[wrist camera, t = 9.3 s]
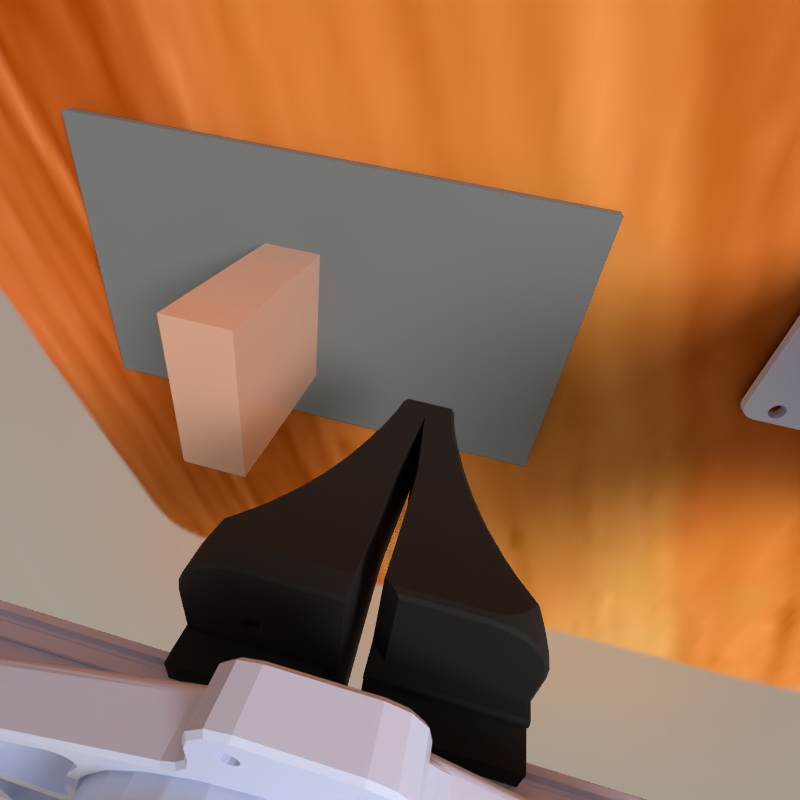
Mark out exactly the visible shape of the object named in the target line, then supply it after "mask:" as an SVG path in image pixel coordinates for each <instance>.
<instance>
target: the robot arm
mask: <svg viewBox="0 0 800 800" xmlns="http://www.w3.org/2000/svg"><path fill="white" fill-rule="evenodd" d="M740 406H741V409H742V411H743V413H744V414H745V415H746V416H747V417H748V418H751V419H753V420H758V421H762V422H766V423H771V424H775V425H780V426H784V427H789V428H793V429H797V430H800V316H799V317H798V318H797V320H796V321H795V323H794V324H793V326H792V327H791V329H790V330H789V332H788V333H787V335H786V336H785V337H784V339H783V340H782V342H781V343H780V345H779V346H778V348H777V349H776V351H775V352H774V354H773V355H772V356H771V358H770V359H769V361H768V362H767V364H766V365H765V367H764V368H763V370H762V371H761V373H760V374H759V375H758V377H757V378H756V380H755V381H754V383H753V384H752V386H751V387H750V389H749V390H748V392H747V393H746V394H745V396H744V397H743V399H742V401H741V403H740ZM774 406H781V407H780V408H779V409H778V410H776V411H773V412H768V411H769V410H770V409H771V408H772V407H774ZM409 491H410V493H409ZM408 493H409V499H408V505H407V510H406V513H405V516H404V520H403V523H402V526H401V529H400V533H399V536H398V539H397V542H396V545H395V548H394V551H393V554H392V558H391V561H390V564H389V567H388V570H387V573H386V576H385V579H384V585H383V590H382V595H381V600H380V606H379V611H378V616H377V621H376V627H375V632H374V637H373V642H372V645H371V649H370V653H369V657H368V661H367V664H366V668H365V671H364V675H363V684H362V689H361V690H359V689H355V688H352V687H349V686H348V682H349V678H350V674H351V671H352V667H353V663H354V660H355V656H356V653H357V649H358V645H359V642H360V638H361V634H362V631H363V627H364V623H365V620H366V616H367V613H368V609H369V605H370V602H371V598H372V595H373V591H374V588H375V584H376V581H377V577H378V574H379V570H380V567H381V564H382V561H383V558H384V555H385V552H386V550H387V547H388V544H389V542H390V539H391V537H392V534H393V532H394V529H395V527H396V524H397V521H398V519H399V516H400V514H401V511H402V509H403V506H404V504H405V501H406V498H407V496H408ZM179 591H180V596H181V599H182V604H183V607H184V611H185V616H186V620H187V626H186V628H185V629H184V631H183V633H182V634H181V636H180V637H179V639H178V641H177V642H176V644H175V646H174V647H173V649H172V651H171V652H170V653H169V652H166V651H163V650H159V649H156V648H153V647H150V646H147V645H144V644H140V643H137V642H134V641H131V640H127V639H124V638H121V637H118V636H115V635H111V634H108V633H105V632H102V631H98V630H95V629H92V628H88V627H85V626H82V625H79V624H76V623H72V622H69V621H66V620H63V619H59V618H56V617H53V616H50V615H47V614H43V613H40V612H37V611H33V610H30V609H27V608H24V607H21V606H17V605H14V604H11V603H8V602H4V601H1V600H0V797H3V798H5V799H7V800H646V799H642V798H639V797H636V796H633V795H629V794H626V793H623V792H619V791H616V790H613V789H610V788H607V787H603V786H600V785H597V784H594V783H591V782H587V781H584V780H581V779H577V778H574V777H571V776H568V775H565V774H561V773H558V772H555V771H552V770H548V769H545V768H542V767H539V766H535V765H532V764H529V763H526V728H528V727H529V726H530V721H531V716H530V715H531V712H530V709H531V708H530V704H531V703H530V702H531V700H532V699H533V697H534V696H535V694H536V693H537V691H538V690H539V688H540V687H541V685H542V684H543V682H544V681H545V679H546V677H547V674H548V671H549V650H548V644H547V638H546V632H545V627H544V622H543V618H542V614H541V610H540V607H539V605H538V603H537V602H536V601H535V599H534V598H533V597H532V596H531V594H530V593H529V592H528V590H527V589H526V588H525V587H524V585H523V584H522V583H521V581H520V580H519V579H518V577H517V576H516V574H515V573H514V571H513V570H512V568H511V567H510V565H509V564H508V562H507V561H506V559H505V558H504V556H503V555H502V553H501V551H500V549H499V548H498V546H497V544H496V543H495V541H494V539H493V537H492V536H491V534H490V532H489V530H488V528H487V527H486V524H485V522H484V520H483V518H482V516H481V514H480V512H479V510H478V508H477V505H476V503H475V501H474V498H473V496H472V493H471V490H470V488H469V485H468V482H467V479H466V476H465V473H464V469H463V466H462V462H461V458H460V454H459V450H458V446H457V441H456V434H455V427H454V412H453V410H452V409H450V408H446V407H442V406H438V405H433V404H429V403H425V402H421V401H417V400H412V399H407V400H405V401H403V403H402V404H401V406H400V407H399V408H398V409H397V411H396V412H395V413H394V414H393V415H392V416H391V418H390V419H389V420H388V421H387V422H386V423H385V424H384V425H383V426H382V427H381V428H380V429H379V430H378V431H377V432H376V433H375V434H374V435H373V436H372V437H371V438H369V439H368V440H367V441H366V442H365V443H364V444H362V445H361V446H360V447H359V448H358V449H356V450H355V451H354V452H353V453H352V454H350V455H349V456H348V457H347V458H345V459H344V460H343V461H341V462H340V463H338V464H337V465H336V466H334V467H333V468H331V469H330V470H328V471H327V472H325V473H324V474H322V475H320V476H319V477H317V478H315V479H314V480H312V481H310V482H309V483H307V484H305V485H303V486H301V487H300V488H298V489H296V490H294V491H292V492H290V493H288V494H285V495H283V496H281V497H279V498H277V499H275V500H273V501H271V502H268V503H266V504H264V505H261V506H259V507H256V508H253V509H250V510H248V511H245V512H242V513H239V514H237V515H234V516H231V517H228V518H225V519H224V520H223V521H222V522H221V523H220V524H219V525H218V526H217V527H216V528H215V530H214V531H213V532H212V533H211V534H210V535H209V536H208V537H207V539H206V540H205V541H204V542H203V543H202V545H201V546H200V548H199V549H198V550H197V552H196V553H195V555H194V556H193V558H192V559H191V561H190V562H189V564H188V565H187V566H186V568H185V569H184V571H183V572H182V574H181V576H180V578H179Z"/></svg>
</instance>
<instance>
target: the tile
mask: <svg viewBox="0 0 800 800" xmlns="http://www.w3.org/2000/svg"><path fill="white" fill-rule="evenodd" d="M319 269H320V254H315V253H310V252H305V251H300V250H296V249H291V248H286V247H281V246H277V245H272V244H267V243H264V244H263V245H261V246H260V247H258V248H257V249H255V250H254V251H252V252H251V253H249V254H247V255H246V256H244V257H243V258H241V259H240V260H238V261H237V262H235V263H233V264H232V265H230V266H229V267H227V268H226V269H224V270H223V271H221V272H220V273H218V274H216V275H215V276H213V277H212V278H210V279H209V280H207V281H206V282H204V283H202V284H201V285H199V286H198V287H196V288H195V289H193V290H192V291H190V292H189V293H187V294H185V295H184V296H182V297H181V298H179V299H178V300H176V301H175V302H173V303H171V304H170V305H168V306H167V307H165V308H164V309H162V310H161V311H159V312H157V318H158V323H159V328H160V334H161V339H162V345H163V350H164V355H165V361H166V366H167V372H168V377H169V383H170V388H171V393H172V399H173V404H174V410H175V415H176V420H177V426H178V431H179V437H180V442H181V447H182V453H183V458H184V461H185V462H189V463H193V464H196V465H200V466H204V467H208V468H212V469H215V470H219V471H223V472H227V473H231V474H234V475H238V476H242V477H246V475H247V474H248V472H249V471H250V470H251V468H252V467H253V465H254V464H255V462H256V461H257V460H258V458H259V457H260V455H261V454H262V452H263V451H264V450H265V448H266V447H267V445H268V444H269V442H270V441H271V440H272V438H273V437H274V435H275V434H276V432H277V431H278V430H279V428H280V427H281V425H282V424H283V422H284V421H285V420H286V418H287V417H288V415H289V414H290V412H291V411H292V410H293V408H294V407H295V405H296V404H297V402H298V401H299V400H300V398H301V397H302V395H303V394H304V392H305V391H306V390H307V388H308V387H309V385H310V384H311V382H312V381H313V380H314V378H315V377H316V361H317V330H318V299H319Z"/></svg>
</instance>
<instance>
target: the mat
mask: <svg viewBox="0 0 800 800" xmlns="http://www.w3.org/2000/svg"><path fill="white" fill-rule="evenodd" d="M61 111H62V115H63V119H64V123H65V127H66V131H67V135H68V139H69V143H70V147H71V151H72V156H73V160H74V164H75V168H76V172H77V176H78V180H79V184H80V188H81V192H82V196H83V200H84V205H85V209H86V213H87V217H88V221H89V225H90V229H91V233H92V237H93V241H94V245H95V249H96V254H97V258H98V262H99V266H100V270H101V274H102V278H103V282H104V286H105V290H106V294H107V298H108V303H109V307H110V311H111V315H112V319H113V323H114V327H115V331H116V335H117V339H118V343H119V347H120V352H121V356H122V360H123V364H124V368H126V369H130V370H134V371H138V372H142V373H146V374H150V375H155V376H159V377H163V378H167V379H169V377H168V372H167V366H166V361H165V355H164V350H163V345H162V339H161V334H160V328H159V323H158V318H157V312H159V311H161V310H162V309H164V308H165V307H167V306H168V305H170V304H171V303H173V302H175V301H176V300H178V299H179V298H181V297H182V296H184V295H185V294H187V293H189V292H190V291H192V290H193V289H195V288H196V287H198V286H199V285H201V284H202V283H204V282H206V281H207V280H209V279H210V278H212V277H213V276H215V275H216V274H218V273H220V272H221V271H223V270H224V269H226V268H227V267H229V266H230V265H232V264H233V263H235V262H237V261H238V260H240V259H241V258H243V257H244V256H246V255H247V254H249V253H251V252H252V251H254V250H255V249H257V248H258V247H260V246H261V245H263V244H264V243H267V244H272V245H277V246H281V247H286V248H291V249H296V250H300V251H305V252H310V253H315V254H320V269H319V299H318V330H317V361H316V377H315V378H314V380H313V381H312V382H311V384H310V385H309V387H308V388H307V390H306V391H305V392H304V394H303V395H302V397H301V398H300V400H299V401H298V402H297V404H296V405H295V407H294V408H293V410H296V411H300V412H304V413H309V414H313V415H317V416H321V417H325V418H329V419H333V420H337V421H341V422H345V423H349V424H353V425H357V426H361V427H365V428H369V429H373V430H377V431H378V430H379V429H380V428H381V427H382V426H383V425H384V424H385V423H386V422H387V421H388V420H389V419H390V418H391V416H392V415H393V414H394V413H395V412H396V411H397V409H398V408H399V407H400V406H401V404H402V403H403V401H405V400H407V399H412V400H417V401H421V402H425V403H429V404H433V405H438V406H442V407H446V408H450V409H452V410H453V412H454V427H455V434H456V441H457V446H458V450H459V451H462V452H467V453H471V454H475V455H479V456H483V457H487V458H491V459H495V460H499V461H503V462H507V463H511V464H515V465H519V466H523V467H525V465H526V462H527V460H528V457H529V455H530V452H531V450H532V447H533V445H534V442H535V440H536V437H537V434H538V432H539V429H540V427H541V424H542V422H543V419H544V417H545V414H546V412H547V409H548V407H549V404H550V401H551V399H552V396H553V394H554V391H555V389H556V386H557V384H558V381H559V379H560V376H561V373H562V371H563V368H564V366H565V363H566V361H567V358H568V356H569V353H570V351H571V348H572V346H573V343H574V340H575V338H576V335H577V333H578V330H579V328H580V325H581V323H582V320H583V318H584V315H585V312H586V310H587V307H588V305H589V302H590V300H591V297H592V295H593V292H594V290H595V287H596V285H597V282H598V279H599V277H600V274H601V272H602V269H603V267H604V264H605V262H606V259H607V257H608V254H609V251H610V249H611V246H612V244H613V241H614V239H615V236H616V234H617V231H618V229H619V226H620V224H621V221H622V218H623V214H622V213H621V212H619V211H614V210H609V209H603V208H598V207H593V206H588V205H582V204H577V203H572V202H566V201H561V200H556V199H550V198H545V197H540V196H535V195H529V194H524V193H519V192H513V191H508V190H503V189H497V188H492V187H487V186H482V185H476V184H471V183H466V182H460V181H455V180H450V179H444V178H439V177H434V176H429V175H423V174H418V173H413V172H407V171H402V170H397V169H391V168H386V167H381V166H376V165H370V164H365V163H360V162H354V161H349V160H344V159H338V158H333V157H328V156H323V155H317V154H312V153H307V152H301V151H296V150H291V149H285V148H280V147H275V146H270V145H264V144H259V143H254V142H248V141H243V140H238V139H232V138H227V137H222V136H217V135H211V134H206V133H201V132H195V131H190V130H185V129H180V128H174V127H169V126H164V125H158V124H153V123H148V122H142V121H137V120H132V119H127V118H121V117H116V116H111V115H105V114H100V113H95V112H89V111H84V110H79V109H74V108H72V109H61Z"/></svg>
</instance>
